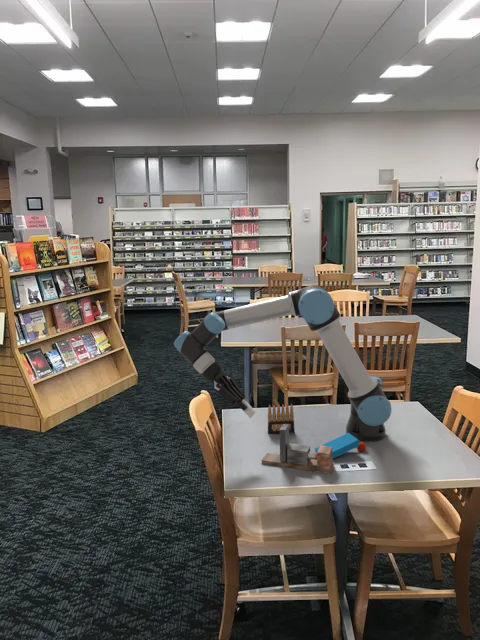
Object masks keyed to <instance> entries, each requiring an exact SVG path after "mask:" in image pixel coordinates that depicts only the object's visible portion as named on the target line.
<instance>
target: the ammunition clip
mask: <svg viewBox="0 0 480 640" xmlns="http://www.w3.org/2000/svg"><path fill="white" fill-rule="evenodd" d="M272 405H273V406H271V404H269V405H268V409H267V410H268V411H267V413H268V414H267V434H268V435H276V434H278V435H280V428H281V427H282V426H283V424H287V425H289V434H294V433H296V432H295V431H296V430H295V412H294V405H293V403H290V406H289V403H287V404H286V405H285V404H283V403H282V404H281V405H282V406H280V404H278V405H277V407H276V405H275V404H272ZM289 407H290V408H289Z"/></svg>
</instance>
